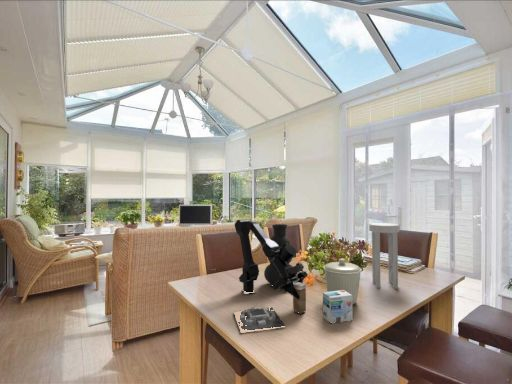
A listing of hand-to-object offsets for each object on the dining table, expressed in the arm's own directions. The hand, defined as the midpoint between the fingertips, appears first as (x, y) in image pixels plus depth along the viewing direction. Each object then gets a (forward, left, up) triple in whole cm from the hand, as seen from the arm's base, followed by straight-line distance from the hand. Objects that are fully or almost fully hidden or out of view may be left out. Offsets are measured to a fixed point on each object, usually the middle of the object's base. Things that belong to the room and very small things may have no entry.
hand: (301, 297), depth 120 cm
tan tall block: (-1, -1, -7) cm, 7 cm away
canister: (-7, +24, -7) cm, 26 cm away
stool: (-23, +61, -7) cm, 66 cm away
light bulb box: (+9, +12, -7) cm, 17 cm away
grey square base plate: (+2, -21, -7) cm, 22 cm away
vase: (-37, +2, -7) cm, 38 cm away
